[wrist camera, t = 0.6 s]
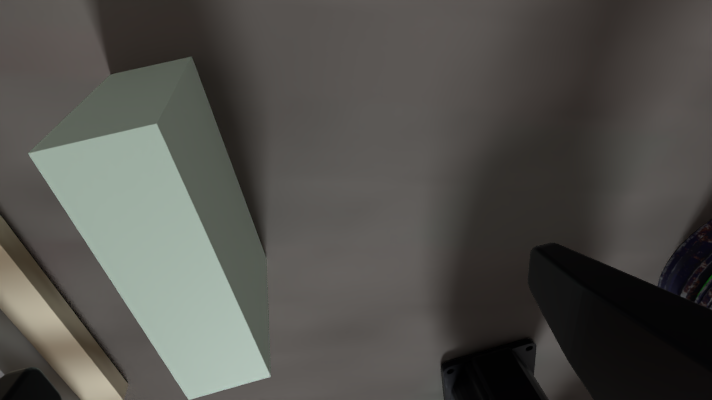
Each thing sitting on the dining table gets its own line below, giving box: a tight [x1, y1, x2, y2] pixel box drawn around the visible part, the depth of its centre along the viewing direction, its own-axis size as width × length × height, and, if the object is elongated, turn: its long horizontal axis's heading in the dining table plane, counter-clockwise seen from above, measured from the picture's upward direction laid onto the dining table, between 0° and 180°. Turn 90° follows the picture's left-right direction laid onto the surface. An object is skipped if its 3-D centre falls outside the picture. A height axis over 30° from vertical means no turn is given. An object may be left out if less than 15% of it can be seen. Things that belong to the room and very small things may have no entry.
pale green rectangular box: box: [28, 57, 271, 400], centre depth 16 cm, size 10×3×7 cm, turn 10°
